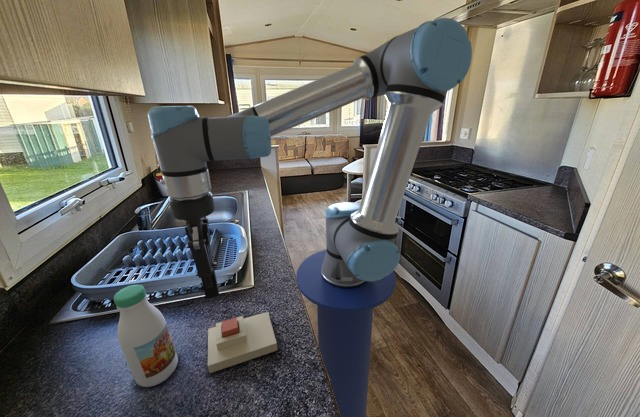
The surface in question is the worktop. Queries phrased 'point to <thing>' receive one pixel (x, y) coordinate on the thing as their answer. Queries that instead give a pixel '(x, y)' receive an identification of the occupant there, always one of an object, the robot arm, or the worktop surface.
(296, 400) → the worktop surface
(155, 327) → the milk bottle
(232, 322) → the red switch button
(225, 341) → the light switch
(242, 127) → the robot arm
